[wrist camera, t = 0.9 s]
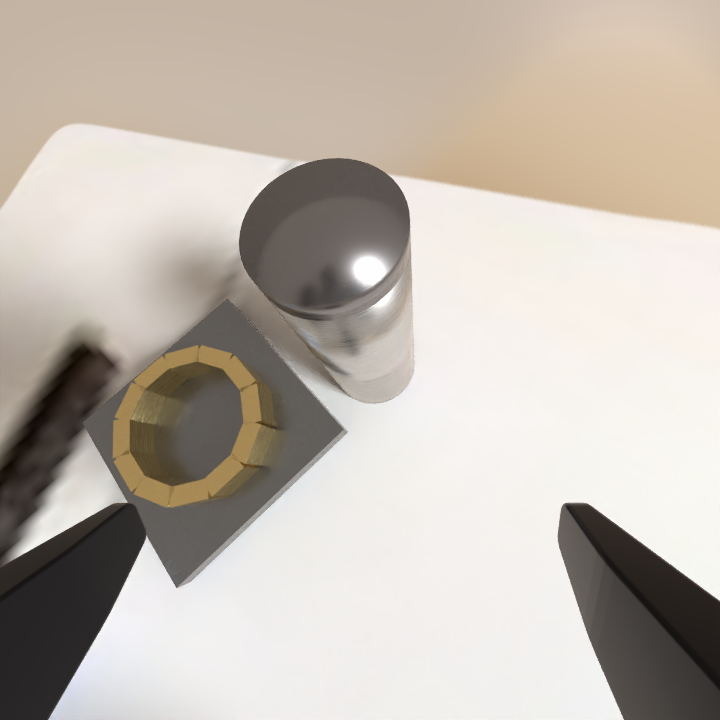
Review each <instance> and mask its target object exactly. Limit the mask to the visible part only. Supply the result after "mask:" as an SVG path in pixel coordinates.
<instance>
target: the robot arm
mask: <svg viewBox="0 0 720 720" xmlns="http://www.w3.org/2000/svg"><path fill="white" fill-rule="evenodd" d="M145 539H146V528H145V526H144V524H143V521H142V519H141V517H140V514H139V512H138V510H137V508H136V506H135V505H134V504H132V503H115V504H112V505H110V506H108V507H106V508H104V509H103V510H101V511H99V512H97V513H96V514H94V515H92V516H90V517H88V518H87V519H85V520H83V521H81V522H80V523H78V524H76V525H74V526H73V527H71V528H69V529H67V530H65V531H64V532H62V533H60V534H58V535H57V536H55V537H53V538H51V539H50V540H48V541H46V542H44V543H42V544H41V545H39V546H37V547H35V548H34V549H32V550H30V551H28V552H27V553H25V554H23V555H21V556H19V557H18V558H16V559H14V560H12V561H11V562H9V563H7V564H5V565H4V566H2V567H0V720H48V719H49V717H50V716H51V714H52V712H53V710H54V709H55V707H56V705H57V704H58V702H59V700H60V698H61V697H62V695H63V693H64V692H65V690H66V688H67V686H68V685H69V683H70V681H71V680H72V678H73V676H74V674H75V673H76V671H77V669H78V668H79V666H80V664H81V662H82V661H83V659H84V657H85V656H86V654H87V652H88V650H89V649H90V647H91V645H92V644H93V642H94V640H95V638H96V637H97V635H98V633H99V632H100V630H101V628H102V626H103V625H104V623H105V621H106V619H107V617H108V616H109V614H110V612H111V610H112V608H113V606H114V604H115V602H116V600H117V598H118V596H119V594H120V592H121V590H122V587H123V585H124V583H125V581H126V579H127V577H128V575H129V573H130V571H131V569H132V567H133V565H134V563H135V561H136V559H137V557H138V554H139V552H140V550H141V548H142V546H143V544H144V542H145ZM558 543H559V548H560V551H561V554H562V557H563V560H564V563H565V566H566V570H567V573H568V576H569V579H570V582H571V585H572V588H573V591H574V594H575V597H576V600H577V603H578V607H579V610H580V613H581V616H582V619H583V622H584V625H585V628H586V631H587V634H588V636H589V639H590V642H591V644H592V646H593V649H594V651H595V654H596V656H597V658H598V661H599V663H600V665H601V668H602V670H603V672H604V675H605V677H606V679H607V682H608V684H609V686H610V689H611V691H612V693H613V695H614V698H615V700H616V702H617V705H618V707H619V709H620V712H621V714H622V716H623V719H624V720H720V601H719V600H718V599H716V598H715V597H714V596H712V595H711V594H710V593H708V592H707V591H706V590H704V589H703V588H702V587H700V586H699V585H697V584H696V583H695V582H693V581H692V580H691V579H689V578H688V577H687V576H685V575H684V574H683V573H681V572H680V571H679V570H677V569H676V568H675V567H673V566H672V565H670V564H669V563H668V562H666V561H665V560H664V559H662V558H661V557H660V556H658V555H657V554H656V553H654V552H653V551H652V550H650V549H649V548H647V547H646V546H645V545H643V544H642V543H641V542H639V541H638V540H637V539H635V538H634V537H633V536H631V535H630V534H629V533H627V532H626V531H625V530H623V529H622V528H620V527H619V526H618V525H616V524H615V523H614V522H612V521H611V520H610V519H608V518H607V517H606V516H604V515H603V514H602V513H600V512H599V511H597V510H596V509H595V508H593V507H592V506H591V505H589V504H587V503H565V504H563V506H562V508H561V514H560V521H559V529H558Z"/></svg>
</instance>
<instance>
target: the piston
mask: <svg viewBox="0 0 720 720" xmlns="http://www.w3.org/2000/svg"><path fill="white" fill-rule="evenodd" d="M239 250H240V255H241V260H242V262H243V265H244V268H245V270H246V271H247V273H248V275H249V276H250V278H251V279H252V280H253V281H254V283H255V284H256V285H257V286H258V287H259V289H260V290H261V291H262V292H263V293H264V295H265V296H266V297H267V298H268V299H269V301H270V302H271V303H272V304H273V306H274V307H275V308H276V309H277V310H278V312H279V313H280V314H281V315H282V316H283V318H284V319H285V320H286V321H287V322H288V324H289V325H290V326H291V327H292V329H293V330H294V331H295V332H296V333H297V335H298V336H299V337H300V338H301V339H302V341H303V342H304V343H305V344H306V345H307V347H308V348H309V349H310V350H311V351H312V353H313V354H314V355H315V356H316V358H317V359H318V360H319V361H320V362H321V364H322V365H323V366H324V367H325V368H326V370H327V371H328V372H329V373H330V374H331V376H332V377H333V378H334V379H335V381H336V382H337V383H338V384H339V385H340V387H341V388H342V389H343V390H344V391H345V392H346V393H347V394H348V395H349V396H351V397H352V398H354V399H356V400H358V401H361V402H364V403H372V404H373V403H382V402H386V401H389V400H391V399H393V398H395V397H396V396H398V395H399V394H400V393H401V392H403V390H404V389H405V388H406V387H407V385H408V384H409V382H410V380H411V378H412V375H413V371H414V337H413V305H412V273H411V242H410V216H409V209H408V205H407V201H406V199H405V196H404V194H403V192H402V191H401V189H400V188H399V186H398V185H397V184H396V182H395V181H394V180H393V179H392V178H391V177H390V176H388V175H387V174H386V173H385V172H383V171H382V170H380V169H378V168H376V167H374V166H372V165H370V164H368V163H364V162H361V161H357V160H351V159H341V158H336V159H323V160H317V161H313V162H309V163H306V164H303V165H300V166H297V167H295V168H293V169H291V170H289V171H287V172H285V173H284V174H282V175H280V176H279V177H277V178H276V179H275V180H273V181H272V182H271V183H270V184H268V185H267V186H266V187H265V188H264V189H263V190H262V191H261V192H260V193H259V195H258V196H257V197H256V198H255V200H254V201H253V202H252V204H251V205H250V207H249V209H248V211H247V213H246V215H245V217H244V220H243V222H242V226H241V230H240V237H239Z"/></svg>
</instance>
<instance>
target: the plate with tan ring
mask: <svg viewBox="0 0 720 720" xmlns="http://www.w3.org/2000/svg"><path fill="white" fill-rule="evenodd" d="M83 424H84V426H85V428H86V429H87V431H88V433H89V435H90V436H91V438H92V440H93V442H94V444H95V445H96V447H97V449H98V451H99V452H100V454H101V456H102V458H103V459H104V461H105V463H106V465H107V466H108V468H109V470H110V472H111V473H112V475H113V477H114V479H115V480H116V482H117V484H118V486H119V488H120V489H121V491H122V493H123V495H124V496H125V498H126V500H127V502H128V503H132V504H134V505H135V506H136V508H137V510H138V512H139V514H140V517H141V519H142V521H143V524H144V526H145V528H146V535H147V537H148V539H149V540H150V542H151V544H152V546H153V547H154V549H155V551H156V553H157V554H158V556H159V558H160V560H161V561H162V563H163V565H164V567H165V568H166V570H167V572H168V574H169V576H170V577H171V579H172V581H173V583H174V584H175V586H176V588H178V587H180V586H182V585H185V584H187V583H189V582H191V581H192V580H193V579H194V578H195V577H196V576H197V575H198V574H199V573H200V572H201V571H202V570H203V569H204V568H205V567H206V566H207V565H209V564H210V563H211V562H212V561H213V560H214V559H215V558H216V557H217V556H218V555H219V554H220V553H221V552H222V551H223V550H224V549H225V548H226V547H227V546H229V545H230V544H231V543H232V542H233V541H234V540H235V539H236V538H237V537H238V536H239V535H240V534H241V533H242V532H243V531H244V530H245V529H246V528H247V527H249V526H250V525H251V524H252V523H253V522H254V521H255V520H256V519H257V518H258V517H259V516H260V515H261V514H262V513H263V512H264V511H265V510H266V509H267V508H269V507H270V506H271V505H272V504H273V503H274V502H275V501H276V500H277V499H278V498H279V497H280V496H281V495H282V494H283V493H284V492H285V491H286V490H287V489H289V488H290V487H291V486H292V485H293V484H294V483H295V482H296V481H297V480H298V479H299V478H300V477H301V476H302V475H303V474H304V473H305V472H306V471H307V470H309V469H310V468H311V467H312V466H313V465H314V464H315V463H316V462H317V461H318V460H319V459H320V458H321V457H322V456H323V455H324V454H325V453H326V452H327V451H329V450H330V449H331V448H332V447H333V446H334V445H335V444H336V443H337V442H338V441H339V440H340V439H341V438H342V437H343V436H344V435H345V434H346V433H347V431H346V429H345V428H344V427H343V426H342V425H341V424H340V423H339V422H338V420H337V419H336V418H335V417H334V416H333V415H332V414H331V413H330V412H329V410H328V409H327V408H326V407H325V406H324V405H323V404H322V403H321V401H320V400H319V399H318V398H317V397H316V396H315V395H314V394H313V392H312V391H311V390H310V389H309V388H308V387H307V386H306V385H305V384H304V382H303V381H302V380H301V379H300V378H299V377H298V376H297V375H296V373H295V372H294V371H293V370H292V369H291V368H290V367H289V366H288V365H287V363H286V362H285V361H284V360H283V359H282V358H281V357H280V356H279V354H278V353H277V352H276V351H275V350H274V349H273V348H272V347H271V345H270V344H269V343H268V342H267V341H266V340H265V339H264V338H263V337H262V335H261V334H260V333H259V332H258V331H257V330H256V329H255V328H254V326H253V325H252V324H251V323H250V322H249V321H248V320H247V319H246V318H245V316H244V315H243V314H242V313H241V312H240V311H239V310H238V309H237V307H236V306H235V305H233V304H232V303H231V302H230V301H229V300H228V299H227V300H226V301H225V302H224V303H222V304H221V305H220V306H219V307H218V308H217V309H215V310H214V311H213V312H212V313H211V314H209V315H208V316H207V317H206V318H205V319H204V320H202V321H201V322H200V323H199V324H198V325H197V326H195V327H194V328H193V329H192V330H191V331H190V332H188V333H187V334H186V335H185V336H184V337H183V338H181V339H180V340H179V341H178V342H177V343H176V344H174V345H173V346H172V347H171V348H170V349H168V350H167V351H166V352H165V353H164V354H163V355H161V356H160V357H159V358H158V359H157V360H156V361H154V362H153V363H152V364H151V365H150V366H149V367H147V368H146V369H145V370H144V371H143V372H142V373H140V374H139V375H138V376H137V377H136V378H135V379H133V380H132V381H131V382H130V383H129V384H127V385H126V386H125V387H124V388H123V389H122V390H120V391H119V392H118V393H117V394H116V395H115V396H113V397H112V398H111V399H110V400H109V401H108V402H106V403H105V404H104V405H103V406H102V407H101V408H99V409H98V410H97V411H96V412H95V413H94V414H92V415H91V416H90V417H89V418H88V419H86V420H85V421H84V422H83Z"/></svg>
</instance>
